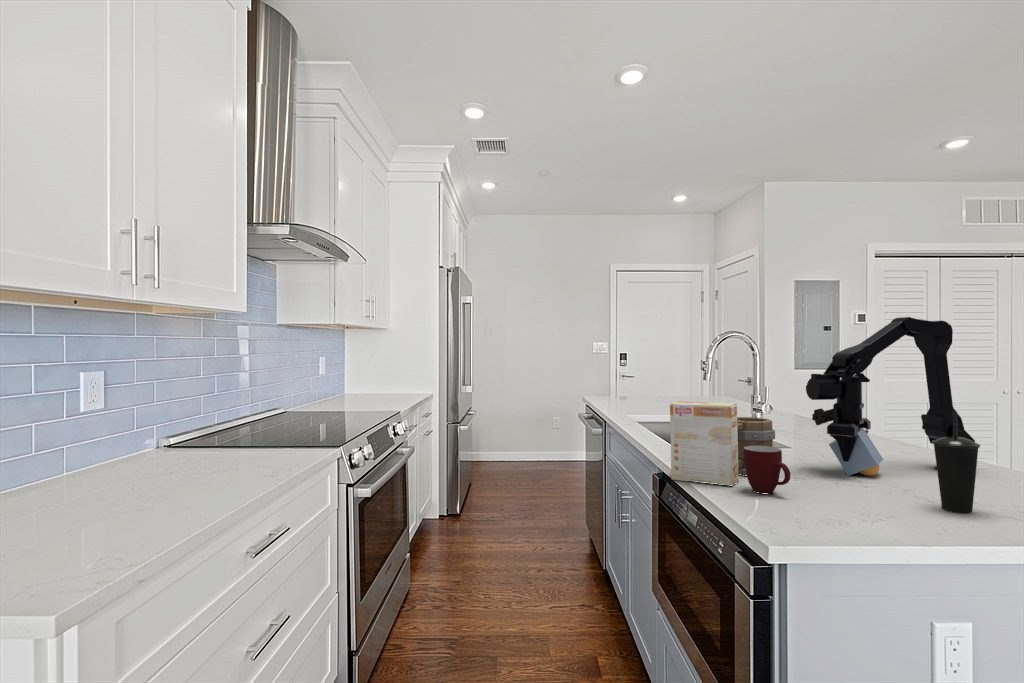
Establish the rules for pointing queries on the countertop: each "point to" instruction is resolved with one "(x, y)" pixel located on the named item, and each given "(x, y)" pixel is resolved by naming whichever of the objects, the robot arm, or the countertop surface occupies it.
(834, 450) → the slate grey cube
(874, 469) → the ball
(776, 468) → the mug
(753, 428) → the tankard
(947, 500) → the drinking cup
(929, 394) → the robot arm
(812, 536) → the countertop surface
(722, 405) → the coffeecake box
